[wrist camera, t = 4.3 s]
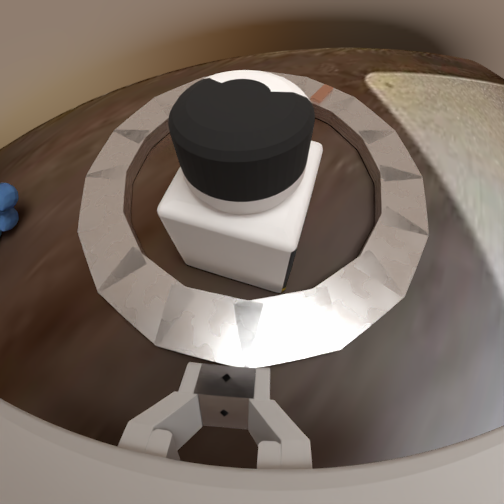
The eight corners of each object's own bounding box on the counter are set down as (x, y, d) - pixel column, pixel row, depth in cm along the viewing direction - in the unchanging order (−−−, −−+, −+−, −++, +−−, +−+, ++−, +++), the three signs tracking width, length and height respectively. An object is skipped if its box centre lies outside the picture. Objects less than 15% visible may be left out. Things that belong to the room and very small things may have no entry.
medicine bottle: (283, 295, 20) (313, 183, 9) (183, 265, 21) (116, 142, 10) (308, 208, 22) (340, 71, 11) (220, 185, 23) (197, 50, 12)
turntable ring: (39, 225, 22) (28, 215, 21) (224, 61, 31) (222, 49, 30) (308, 447, 15) (314, 454, 14) (445, 162, 24) (453, 150, 23)
